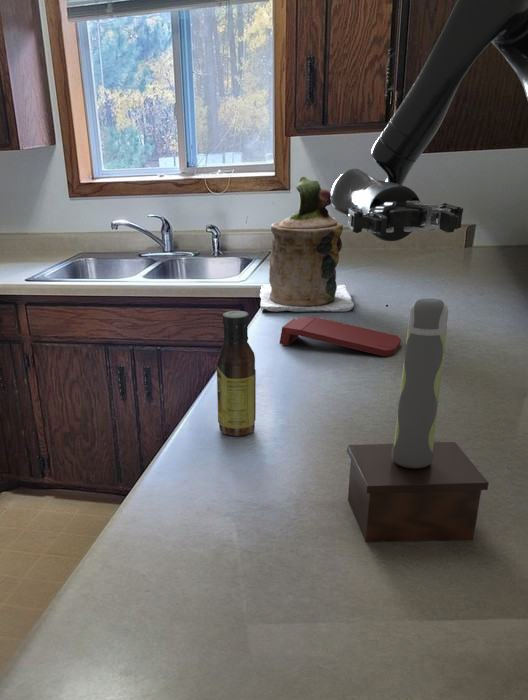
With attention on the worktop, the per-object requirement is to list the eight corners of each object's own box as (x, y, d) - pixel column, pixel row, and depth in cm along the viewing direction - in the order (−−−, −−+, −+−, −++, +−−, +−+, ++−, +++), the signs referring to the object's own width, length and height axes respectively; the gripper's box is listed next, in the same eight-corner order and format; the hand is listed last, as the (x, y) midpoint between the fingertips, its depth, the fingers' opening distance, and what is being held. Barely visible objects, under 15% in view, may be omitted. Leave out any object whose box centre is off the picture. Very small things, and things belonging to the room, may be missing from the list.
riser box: (447, 495, 100) (455, 441, 96) (479, 541, 89) (488, 482, 86) (343, 498, 100) (347, 444, 97) (362, 544, 90) (367, 485, 86)
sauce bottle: (226, 421, 127) (225, 306, 118) (260, 426, 125) (262, 309, 116) (211, 435, 122) (209, 316, 113) (247, 440, 119) (247, 319, 111)
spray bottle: (434, 456, 92) (455, 296, 83) (430, 472, 88) (451, 306, 79) (394, 451, 94) (410, 294, 85) (388, 467, 90) (404, 303, 81)
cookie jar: (259, 313, 194) (260, 183, 180) (259, 293, 216) (261, 175, 202) (355, 312, 191) (364, 179, 177) (345, 291, 213) (353, 171, 199)
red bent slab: (398, 357, 167) (293, 332, 175) (403, 336, 164) (296, 312, 173) (386, 373, 157) (276, 346, 166) (392, 351, 154) (280, 324, 163)
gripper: (339, 184, 106) (363, 196, 92) (439, 180, 106) (479, 191, 91) (336, 239, 110) (359, 258, 95) (433, 235, 109) (471, 253, 94)
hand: (418, 225), depth 93 cm, fingers open, 8 cm apart
